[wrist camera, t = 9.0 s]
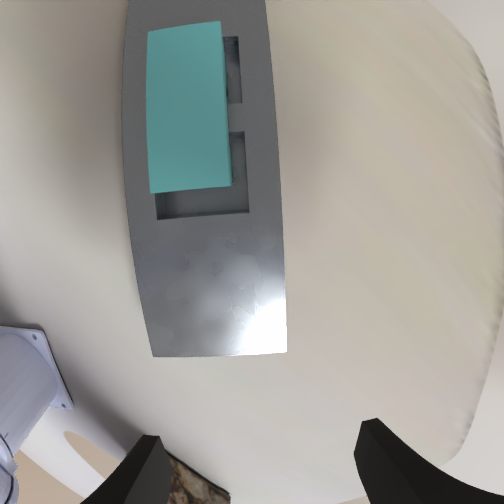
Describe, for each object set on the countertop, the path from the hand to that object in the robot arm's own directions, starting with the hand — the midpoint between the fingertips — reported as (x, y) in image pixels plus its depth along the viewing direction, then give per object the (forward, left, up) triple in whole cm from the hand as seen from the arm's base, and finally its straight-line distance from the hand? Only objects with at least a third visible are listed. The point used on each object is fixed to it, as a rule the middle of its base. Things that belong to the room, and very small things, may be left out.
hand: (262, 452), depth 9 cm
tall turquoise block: (-2, +12, -9) cm, 15 cm away
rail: (-2, +12, -10) cm, 16 cm away
